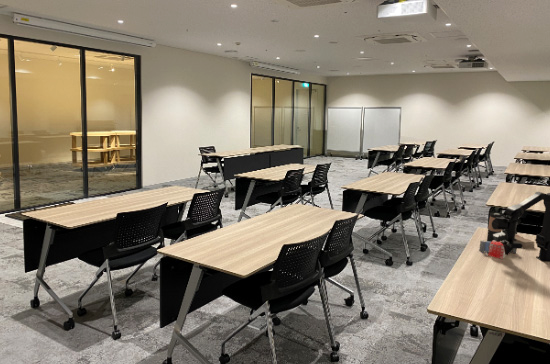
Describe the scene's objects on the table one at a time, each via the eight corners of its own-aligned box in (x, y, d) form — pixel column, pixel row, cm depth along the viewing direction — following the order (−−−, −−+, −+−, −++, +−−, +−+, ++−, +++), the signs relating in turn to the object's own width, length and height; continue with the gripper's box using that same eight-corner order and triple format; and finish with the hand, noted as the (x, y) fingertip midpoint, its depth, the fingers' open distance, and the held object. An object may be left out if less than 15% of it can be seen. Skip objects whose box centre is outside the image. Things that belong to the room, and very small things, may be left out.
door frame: (516, 253, 259) (517, 243, 258) (480, 252, 260) (482, 241, 258) (514, 252, 262) (515, 242, 260) (479, 250, 262) (480, 240, 261)
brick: (534, 248, 271) (535, 241, 270) (524, 249, 269) (525, 241, 268) (513, 239, 287) (514, 233, 286) (503, 240, 284) (504, 233, 283)
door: (513, 253, 258) (514, 243, 257) (485, 252, 259) (487, 242, 257) (510, 252, 261) (512, 242, 260) (483, 250, 261) (485, 241, 260)
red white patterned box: (502, 259, 249) (504, 246, 247) (488, 255, 254) (489, 243, 252) (505, 255, 255) (507, 243, 253) (491, 252, 260) (493, 240, 258)
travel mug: (497, 241, 281) (502, 212, 277) (500, 245, 274) (504, 215, 270) (485, 240, 283) (489, 211, 279) (487, 243, 276) (491, 214, 272)
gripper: (488, 223, 252) (484, 248, 255) (504, 233, 234) (500, 260, 236) (507, 224, 252) (503, 249, 255) (524, 234, 234) (520, 261, 236)
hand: (506, 255), depth 246 cm, fingers closed
